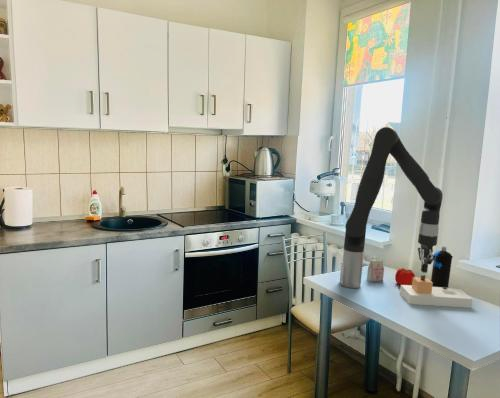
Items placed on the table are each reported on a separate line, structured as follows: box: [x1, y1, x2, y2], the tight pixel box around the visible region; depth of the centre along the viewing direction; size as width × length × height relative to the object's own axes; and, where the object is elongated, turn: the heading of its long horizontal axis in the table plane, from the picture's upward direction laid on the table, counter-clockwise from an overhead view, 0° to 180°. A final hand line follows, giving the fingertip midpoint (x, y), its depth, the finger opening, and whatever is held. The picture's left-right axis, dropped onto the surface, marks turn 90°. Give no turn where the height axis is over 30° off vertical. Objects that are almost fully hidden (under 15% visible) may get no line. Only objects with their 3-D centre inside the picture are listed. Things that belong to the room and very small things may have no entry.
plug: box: [412, 274, 433, 294], centre depth 172 cm, size 6×6×9 cm
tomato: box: [394, 267, 416, 286], centre depth 190 cm, size 9×9×8 cm
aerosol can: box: [430, 245, 453, 288], centre depth 189 cm, size 8×8×20 cm
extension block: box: [399, 285, 473, 309], centre depth 173 cm, size 26×12×5 cm, turn 88°
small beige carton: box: [366, 259, 385, 283], centre depth 194 cm, size 4×7×10 cm, turn 107°
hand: (423, 271), depth 171 cm, fingers closed
